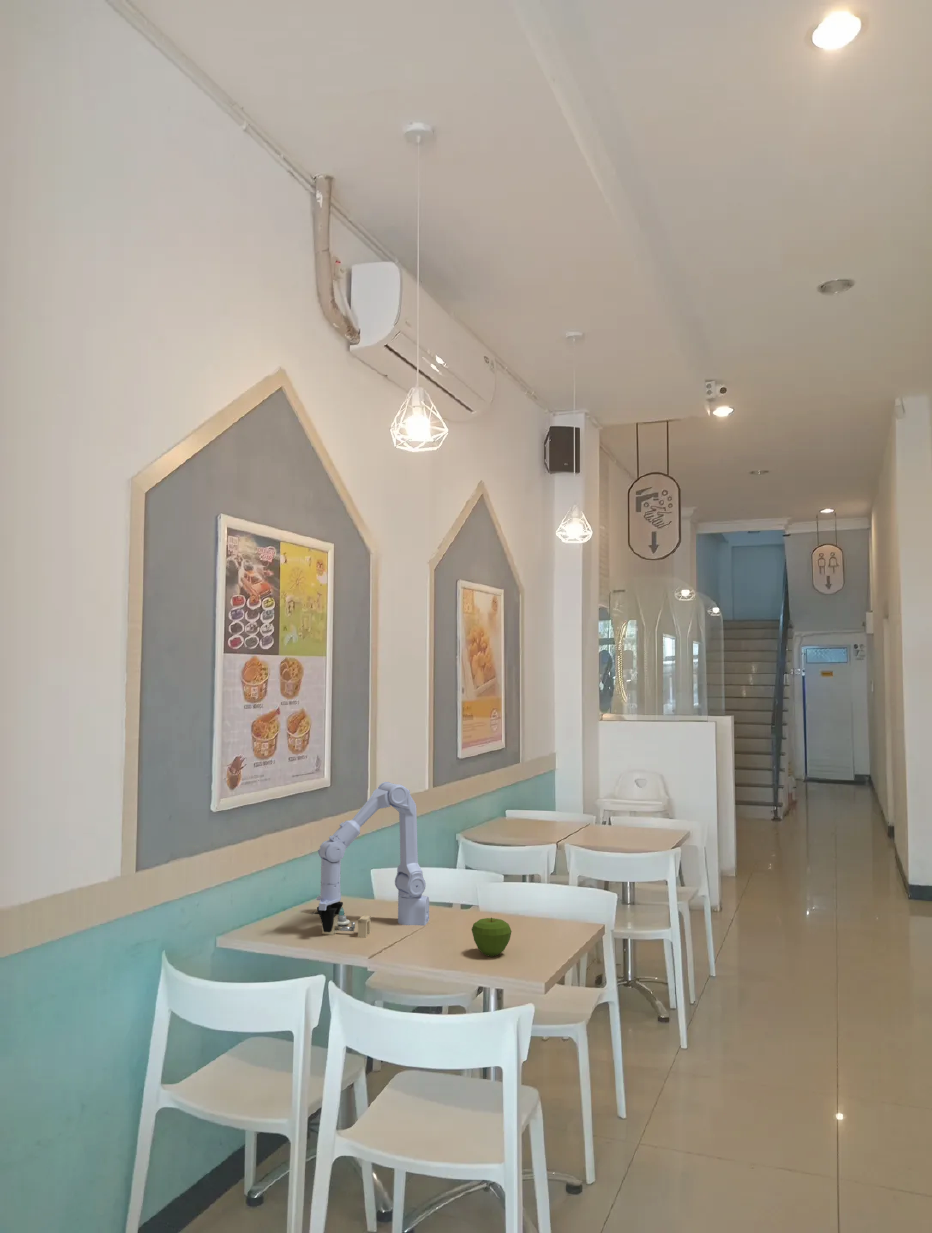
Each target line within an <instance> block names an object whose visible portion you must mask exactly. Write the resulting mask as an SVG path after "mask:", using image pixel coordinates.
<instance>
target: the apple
mask: <svg viewBox="0 0 932 1233" xmlns="http://www.w3.org/2000/svg"><path fill="white" fill-rule="evenodd" d="M510 926H511V925H510V924H509V923H508V922H506V921H505V920H503V919H500V918H492V917H486V918H485V917H484V918H481V919H478V920H477V921H475V922H474V923H473V925H472V927H471V933H472V937H473V941H474V943H475V945H476V947H477V948H478V951H480V952H481V954H483V955H484V956H487V957H497V956H498V955H500V954H502V953H503V952H504V951H505V950H506V948H507V946H508V944H509V942H510V940H511V936H512V932H513V931H512V929H511V927H510Z"/></svg>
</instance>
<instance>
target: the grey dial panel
mask: <svg viewBox="0 0 932 1233" xmlns="http://www.w3.org/2000/svg"><path fill="white" fill-rule="evenodd" d="M371 916H372V915H362V916H360V918H358V919H357V938H362V939H363V938H367V937H368V936H367V935H370V934H371V928H372V927H371V924H372V922H371V921H372V920H371V918H372V917H371ZM346 925H347V924H346ZM346 925H338V926H345V927H347V926H346Z"/></svg>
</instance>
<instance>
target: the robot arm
mask: <svg viewBox="0 0 932 1233" xmlns="http://www.w3.org/2000/svg"><path fill="white" fill-rule="evenodd" d="M391 807H392V808H393V809H395V810H396V811H397V812H398V816H399V817H398V818H399V819H398V820H399V852H400V853H399V854H400V855H399V856H400V858H399V859H400V863H399V865H398V866H397V869H396V871H397V872H396V876H395V878H394V886H395V888H396V889H397V891H398V892H397V896H398V897H397V898H398V899H397V923H398V924H399V925H401V926H402V925H404V926H426V925H427V924H428V923H429V921H430V897H429V896H427V895H423V893H424V892H425V890H426V884H427V883H426V881H425V878H424V875H423V873H424V872H423V870H422V868H421V865H420V864H419V854H418V851H419V850H418V820H417V819H418V818H417V817H418V815H417V810H418V809H417V804H416V802H415V800H414V799H413V797H412V795H411V791H410V789H408V788H407V787H405V786H404V785H402V784H398V783H392V782H390V781H383V782H382V783H380V784H379V785H378V787H377V788H375V789H374V790H373V792H372V794H371V796H370V797H369V798H368V800H367V801H366V802H365V803H364V804H363V805H362V807H361V808H360V809H359V811H358V812H357V813H356V814H355V815H354V817H353V818H352V819H350V820H345V821H342V822H341V823H340V824H339V828H338V829H337V830H336V831H335V832H334V833H333V834H332V835H329V837H328V839H327V840H325V841H323V842H322V843H321V844H320V846H319V848H318V849H317V853H318V857H320V859H321V860H320V861H321V862H320V864H321V866H320V895H318V896H317V897H316V900H317V901H319V903H318V906H317V907H316V912H318V913H319V914H318V915H319V918H320V921H321V926H323V931H324V932H331V930H332V925H333V918H334V915H335V914H338V916H339V912H340V909H341V907H343V905H344V903H343V902H342V901H341V900H342V892H341V872H342V871H341V868H342V866H341V865H342V864H341V863H342V862H341V860H342V859H343V858H344V857H345V853H346V850H347V848H349V846H350V845H351V844H352V843H354V841H355V840H356V839H357V837H359V835H360V834H361V827H362V826H363V825H364V824H365V823H367V821H368V820H369V819H371V817H373V815H375V813H376V812H377V811H378V810H381V809H384V808H385V809H386V808H391ZM339 901H340V902H339Z"/></svg>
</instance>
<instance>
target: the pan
mask: <svg viewBox="0 0 932 1233" xmlns="http://www.w3.org/2000/svg"><path fill="white" fill-rule="evenodd" d="M349 924H351V921H350V920H349V919H347V915H346V914H345V910H344V907H343V906H342V907H341V909H340V912H339V915H338V926H339V925H349Z"/></svg>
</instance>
